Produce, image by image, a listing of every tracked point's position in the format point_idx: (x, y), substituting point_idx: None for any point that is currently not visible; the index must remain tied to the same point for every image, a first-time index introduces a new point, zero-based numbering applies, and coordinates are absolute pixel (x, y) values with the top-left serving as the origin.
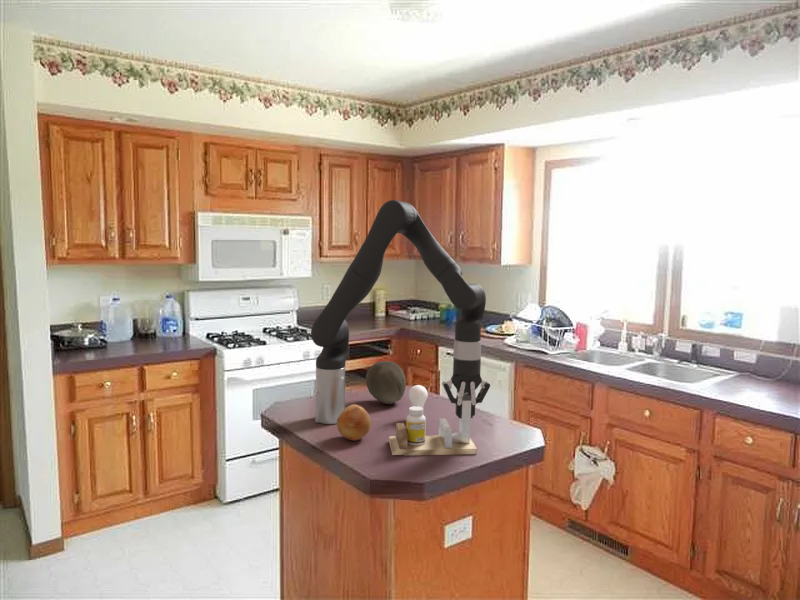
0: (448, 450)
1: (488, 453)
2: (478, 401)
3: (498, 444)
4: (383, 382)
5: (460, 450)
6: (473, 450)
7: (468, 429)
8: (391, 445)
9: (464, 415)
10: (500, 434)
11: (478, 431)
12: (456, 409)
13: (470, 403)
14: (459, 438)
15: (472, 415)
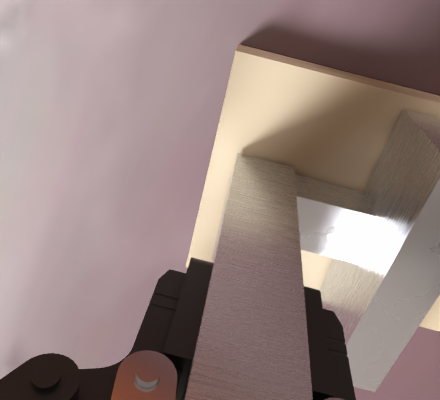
0: (429, 99)
1: (160, 32)
2: (74, 379)
3: (51, 148)
4: None
5: (348, 77)
6: (260, 54)
7: (243, 199)
8: None
9: (276, 284)
10: (2, 260)
11: (96, 319)
12: (346, 372)
13: (199, 378)
14: (303, 187)
15: (190, 269)
